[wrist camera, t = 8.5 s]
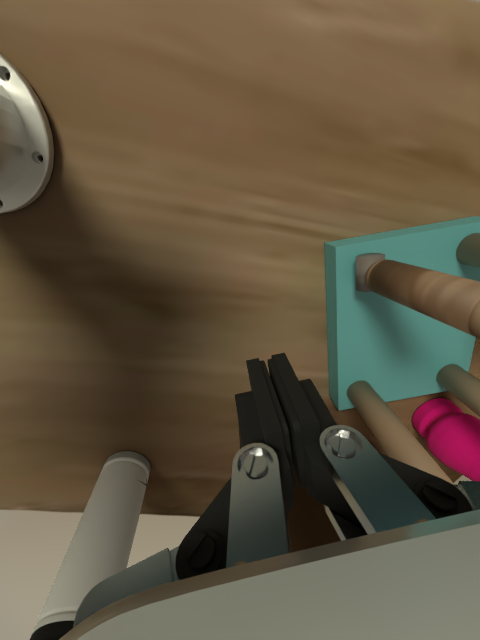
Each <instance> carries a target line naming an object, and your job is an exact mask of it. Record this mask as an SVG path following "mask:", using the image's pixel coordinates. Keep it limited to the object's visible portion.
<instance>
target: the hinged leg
mask: <svg viewBox="0 0 480 640" xmlns="http://www.w3.org/2000/svg"><path fill="white" fill-rule="evenodd" d="M355 289H356V290H358V291H362V292H374V293H376V294H378V295H381V296H383V297H385V298H388V299H390V300H392V301H394V302H397V303H399V304H401V305H404V306H406V307H408V308H410V309H413V310H415V311H417V312H419V313H422V314H424V315H426V316H429V317H431V318H433V319H435V320H438V321H440V322H442V323H445V324H447V325H449V326H451V327H454V328H456V329H458V330H461V331H463V332H465V333H467V334H470V335H472V336H474V337H477V338H480V282H479V281H475V280H471V279H467V278H463V277H459V276H455V275H451V274H447V273H443V272H439V271H434V270H430V269H426V268H422V267H418V266H414V265H410V264H406V263H402V262H398V261H394V260H388V259H385V254H382V253H366V254H360V255H358V256H356V281H355Z"/></svg>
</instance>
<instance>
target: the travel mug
mask: <svg viewBox="0 0 480 640" xmlns="http://www.w3.org/2000/svg"><path fill="white" fill-rule="evenodd" d="M150 469H151V467H150V463H149V461H148V460H147V459H146V458H145V457H144V456H143V455H141V454H139V453H136V452H132V451H121V452H117V453H115V454H113V455H111V456H110V457H109V458H108V459H107V460H106V461H105V464H104V466H103V468H102V471H101V473H100V475H99V478H98V480H97V482H96V485H95V487H94V489H93V492H92V494H91V496H90V499H89V501H88V503H87V506H86V508H85V510H84V513H83V515H82V517H81V520H80V522H79V525H78V527H77V529H76V531H75V534H74V536H73V539H72V541H71V543H70V545H69V548H68V550H67V553H66V555H65V557H64V560H63V562H62V564H61V567H60V569H59V571H58V574H57V576H56V578H55V581H54V583H53V585H52V588H51V590H50V592H49V595H48V597H47V599H46V602H45V604H44V606H43V609H42V611H41V613H40V616H39V618H38V621H37V625H36V626H35V627H34V630H33V632H32V635H31V638H30V640H59V639H60V638H62V637H63V636H64V635H65V634H67V633H68V632H69V631H70V630H72V629H73V624H74V620H75V617H76V613H77V610H78V608H79V606H80V604H81V603H82V601H83V599H84V597H85V596H86V595H87V594H88V593H89V591H90V590H91V589H92V588H93V587H94V586H96V585H97V584H99V583H100V582H101V581H103V580H105V579H107V578H109V577H111V576H113V575H115V574H117V573H119V572H121V571H123V570H125V569H126V567H127V563H128V559H129V555H130V551H131V547H132V543H133V538H134V535H135V531H136V527H137V523H138V519H139V515H140V511H141V507H142V503H143V498H144V494H145V490H146V486H147V482H148V478H149V474H150Z"/></svg>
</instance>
